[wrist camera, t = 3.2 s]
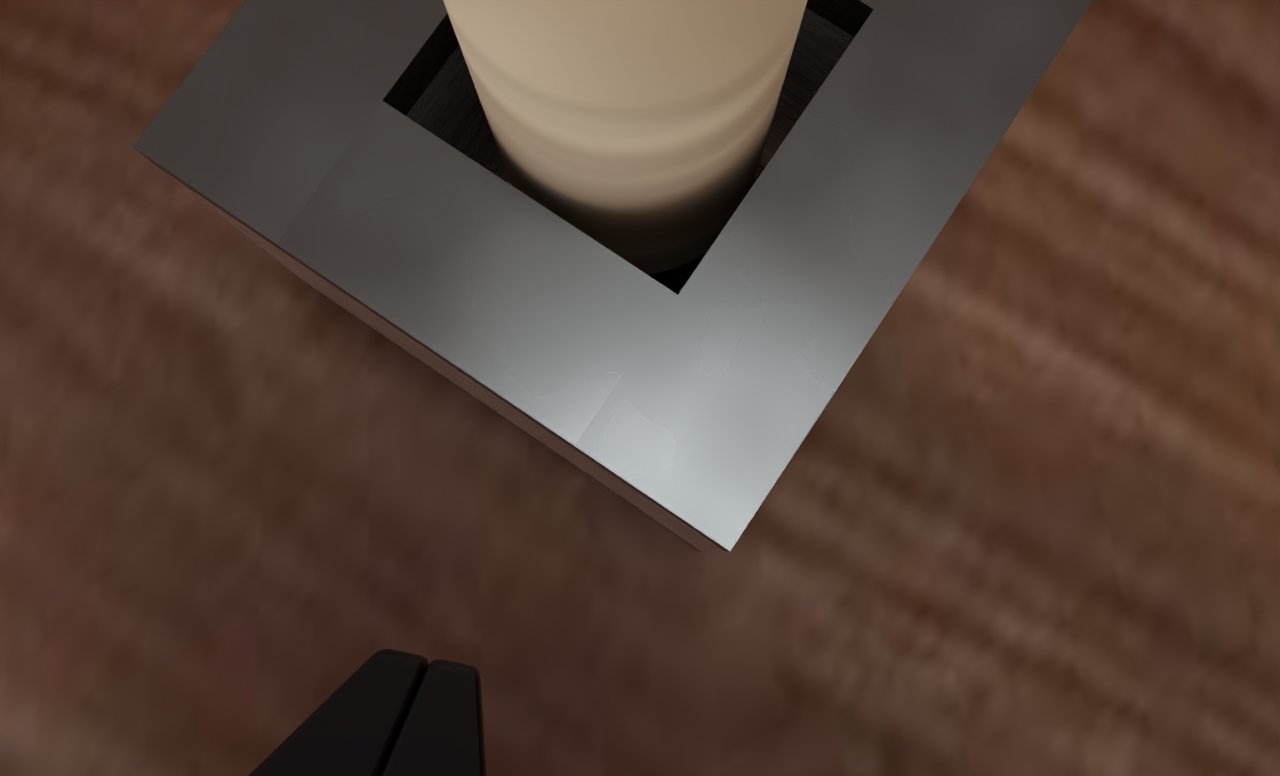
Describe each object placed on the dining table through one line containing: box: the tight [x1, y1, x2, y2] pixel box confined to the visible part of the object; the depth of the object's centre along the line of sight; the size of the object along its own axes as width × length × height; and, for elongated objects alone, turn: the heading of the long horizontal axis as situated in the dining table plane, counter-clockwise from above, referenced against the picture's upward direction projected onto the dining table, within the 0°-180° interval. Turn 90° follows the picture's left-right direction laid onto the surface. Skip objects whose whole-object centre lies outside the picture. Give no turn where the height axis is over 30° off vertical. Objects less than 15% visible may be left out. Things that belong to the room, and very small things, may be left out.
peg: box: [443, 0, 807, 274], centre depth 16 cm, size 4×4×8 cm
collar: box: [133, 0, 1092, 551], centre depth 20 cm, size 10×10×8 cm
